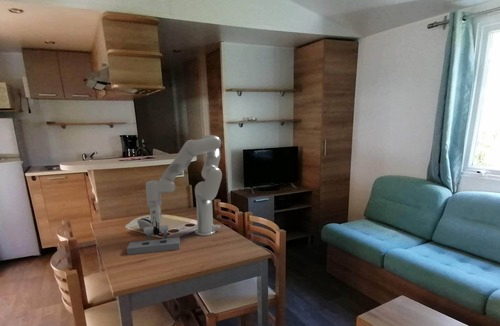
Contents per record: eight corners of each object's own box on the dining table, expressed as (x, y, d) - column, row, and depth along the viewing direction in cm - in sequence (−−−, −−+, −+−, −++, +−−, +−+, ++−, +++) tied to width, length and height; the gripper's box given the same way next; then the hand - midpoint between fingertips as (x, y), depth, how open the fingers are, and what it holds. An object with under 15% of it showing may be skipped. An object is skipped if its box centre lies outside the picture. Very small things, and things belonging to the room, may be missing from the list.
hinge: (162, 232, 171) (157, 219, 167) (156, 237, 168) (150, 223, 164) (147, 226, 181) (141, 214, 177) (141, 231, 178) (135, 218, 174)
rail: (179, 243, 155) (179, 237, 154) (179, 249, 147) (179, 243, 147) (130, 248, 149) (130, 242, 149) (127, 255, 142) (126, 248, 141)
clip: (169, 238, 160) (168, 224, 159) (169, 240, 157) (168, 226, 156) (145, 241, 157) (144, 227, 156) (145, 243, 154) (143, 229, 153)
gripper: (159, 206, 147) (162, 238, 149) (162, 198, 163) (165, 228, 165) (145, 207, 145) (147, 240, 148) (149, 199, 161) (151, 229, 164)
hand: (156, 233), depth 157 cm, fingers closed on clip, 3 cm apart
